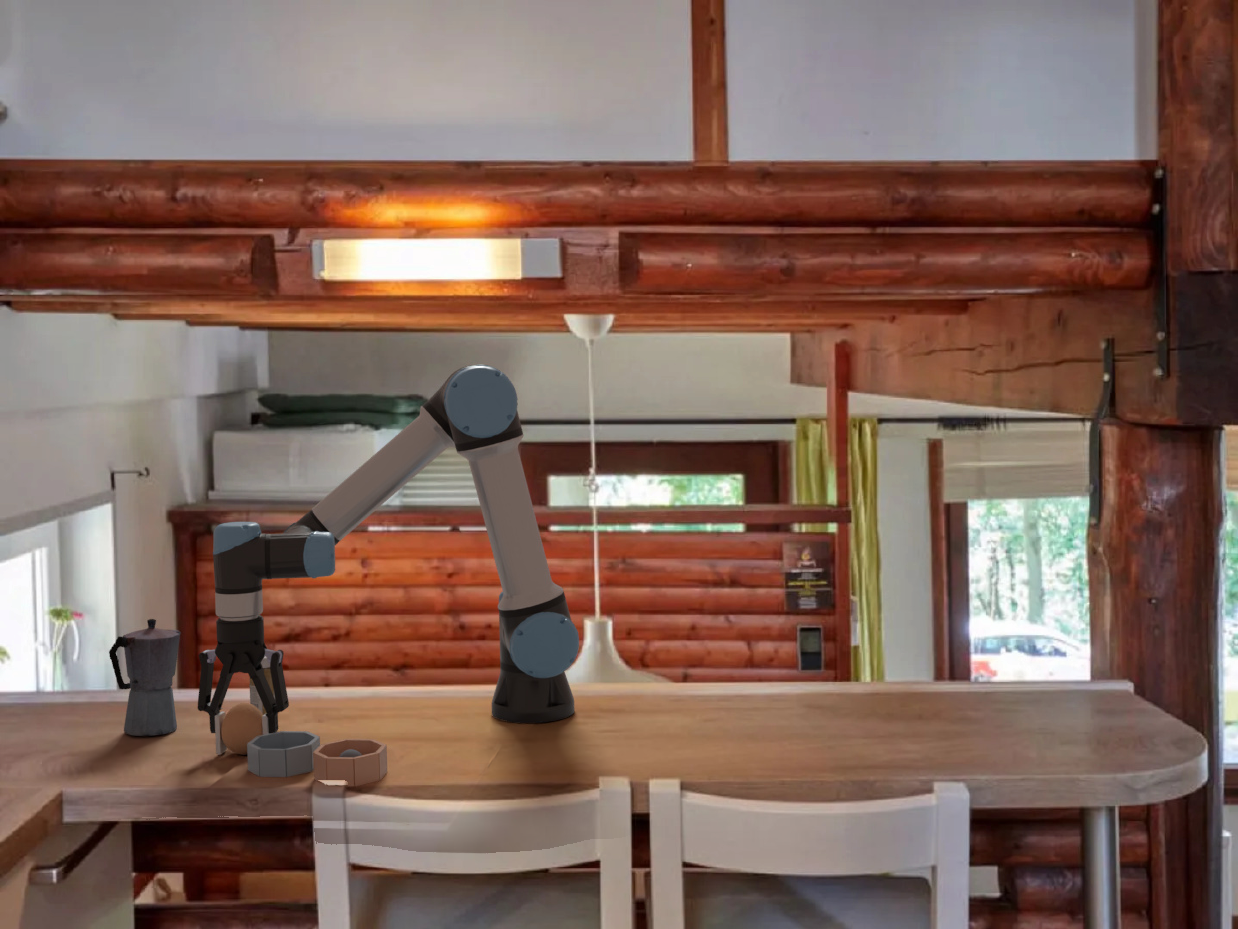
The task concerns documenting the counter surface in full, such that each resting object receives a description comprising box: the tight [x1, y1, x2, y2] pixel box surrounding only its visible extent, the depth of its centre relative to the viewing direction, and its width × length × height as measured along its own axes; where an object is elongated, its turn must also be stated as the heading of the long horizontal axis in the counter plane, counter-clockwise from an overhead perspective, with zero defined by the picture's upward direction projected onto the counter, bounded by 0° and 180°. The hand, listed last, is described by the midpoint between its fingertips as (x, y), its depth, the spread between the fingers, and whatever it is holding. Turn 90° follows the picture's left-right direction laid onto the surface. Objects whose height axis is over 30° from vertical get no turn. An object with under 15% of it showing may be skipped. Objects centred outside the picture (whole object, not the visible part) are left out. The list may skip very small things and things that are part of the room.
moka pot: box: [108, 618, 182, 737], centre depth 234 cm, size 10×15×20 cm, turn 155°
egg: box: [221, 702, 263, 756], centre depth 221 cm, size 7×7×8 cm
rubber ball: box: [339, 749, 362, 757], centre depth 206 cm, size 4×4×4 cm
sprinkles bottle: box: [248, 656, 275, 715], centre depth 235 cm, size 5×5×13 cm
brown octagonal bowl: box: [313, 738, 388, 787], centre depth 206 cm, size 10×10×5 cm
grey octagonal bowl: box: [247, 730, 321, 778], centre depth 211 cm, size 10×10×5 cm
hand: (245, 752), depth 221 cm, fingers closed on egg, 7 cm apart
